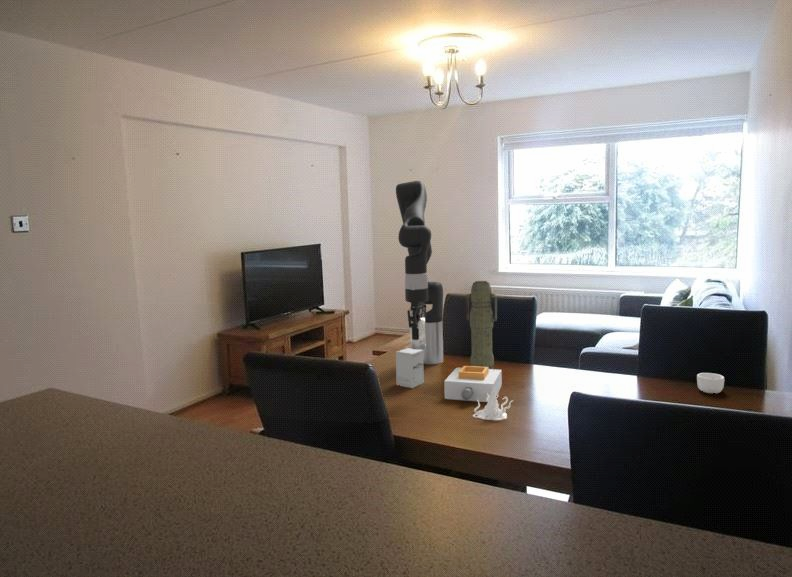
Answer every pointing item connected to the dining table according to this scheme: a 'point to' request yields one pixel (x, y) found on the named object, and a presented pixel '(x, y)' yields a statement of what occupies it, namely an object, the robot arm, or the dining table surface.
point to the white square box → (472, 383)
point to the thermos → (481, 323)
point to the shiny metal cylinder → (422, 337)
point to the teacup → (710, 382)
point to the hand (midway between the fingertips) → (418, 337)
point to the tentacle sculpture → (492, 408)
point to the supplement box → (409, 367)
